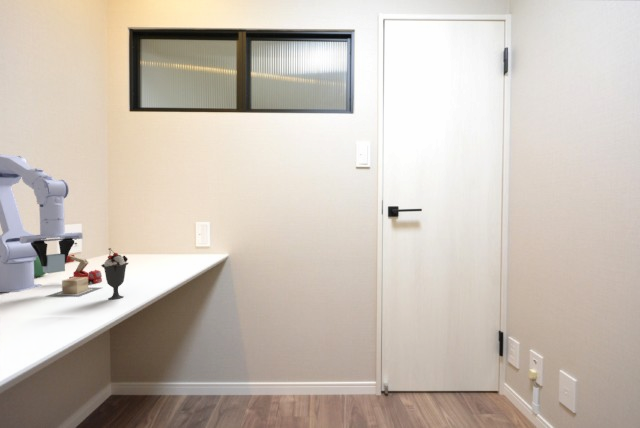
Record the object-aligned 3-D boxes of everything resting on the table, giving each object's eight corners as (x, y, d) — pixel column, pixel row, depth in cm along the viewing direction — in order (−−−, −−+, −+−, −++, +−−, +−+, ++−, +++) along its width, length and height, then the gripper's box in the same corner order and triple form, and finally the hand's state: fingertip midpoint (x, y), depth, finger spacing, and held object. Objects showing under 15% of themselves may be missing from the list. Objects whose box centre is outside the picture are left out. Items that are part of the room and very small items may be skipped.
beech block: (62, 293, 96) (62, 280, 96) (74, 289, 100) (73, 277, 100) (77, 293, 96) (76, 280, 96) (88, 289, 100) (88, 277, 100)
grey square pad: (45, 297, 93) (45, 296, 93) (72, 288, 103) (72, 287, 103) (79, 297, 93) (79, 296, 93) (103, 288, 103) (103, 287, 103)
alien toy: (56, 275, 123) (55, 249, 123) (31, 279, 116) (30, 252, 116) (46, 273, 126) (45, 248, 125) (21, 277, 119) (20, 250, 118)
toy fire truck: (96, 285, 108) (95, 256, 108) (58, 284, 109) (58, 255, 109) (103, 282, 111) (103, 255, 111) (67, 281, 113) (66, 254, 112)
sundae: (100, 304, 87) (99, 249, 87) (103, 297, 93) (102, 246, 93) (128, 300, 90) (127, 247, 90) (130, 294, 96) (129, 245, 96)
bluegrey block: (43, 271, 96) (42, 255, 95) (59, 269, 99) (58, 253, 99) (48, 273, 94) (48, 256, 93) (64, 271, 97) (64, 254, 97)
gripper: (25, 221, 88) (26, 270, 88) (86, 219, 100) (87, 262, 100) (16, 220, 91) (18, 267, 92) (76, 218, 104) (77, 260, 104)
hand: (53, 264), depth 96 cm, fingers closed on bluegrey block, 4 cm apart
